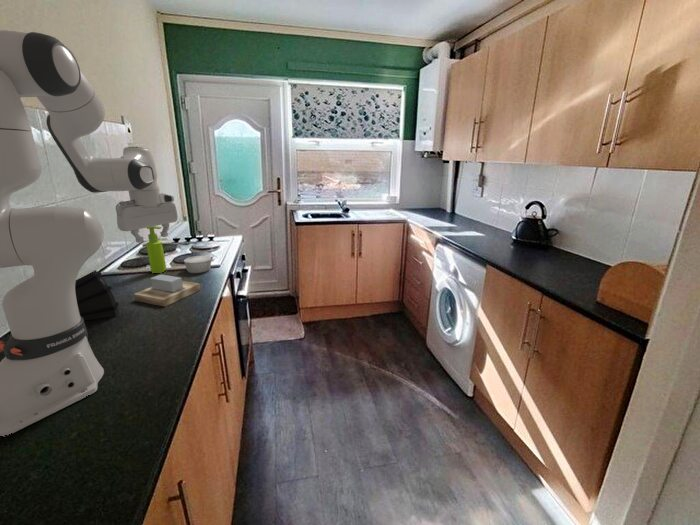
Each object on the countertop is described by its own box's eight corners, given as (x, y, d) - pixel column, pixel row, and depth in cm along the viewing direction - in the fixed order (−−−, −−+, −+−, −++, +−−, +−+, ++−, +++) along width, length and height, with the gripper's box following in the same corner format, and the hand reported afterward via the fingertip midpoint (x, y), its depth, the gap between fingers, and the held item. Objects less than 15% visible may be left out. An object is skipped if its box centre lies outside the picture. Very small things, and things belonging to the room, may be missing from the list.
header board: (164, 306, 114) (162, 293, 112) (135, 300, 119) (132, 287, 117) (200, 289, 128) (198, 277, 127) (172, 284, 133) (170, 273, 131)
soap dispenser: (164, 273, 145) (156, 228, 139) (148, 273, 145) (140, 228, 139) (171, 269, 151) (164, 225, 145) (156, 269, 151) (148, 225, 145)
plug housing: (183, 288, 123) (181, 277, 122) (173, 292, 119) (171, 281, 118) (162, 284, 126) (160, 274, 125) (152, 288, 122) (150, 278, 121)
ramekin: (194, 265, 156) (193, 254, 155) (217, 266, 155) (216, 255, 153) (179, 273, 146) (178, 262, 144) (203, 275, 144) (202, 263, 143)
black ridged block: (126, 311, 107) (92, 272, 101) (86, 332, 105) (49, 295, 99) (130, 306, 110) (97, 269, 104) (91, 327, 109) (56, 290, 103)
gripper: (121, 202, 102) (130, 247, 106) (177, 196, 120) (183, 234, 124) (107, 201, 104) (116, 245, 108) (164, 195, 123) (170, 233, 127)
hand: (152, 239), depth 116 cm, fingers open, 8 cm apart
